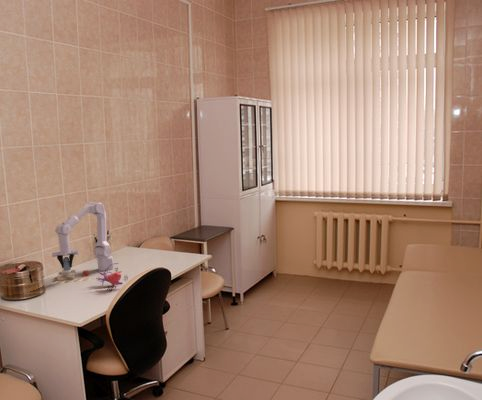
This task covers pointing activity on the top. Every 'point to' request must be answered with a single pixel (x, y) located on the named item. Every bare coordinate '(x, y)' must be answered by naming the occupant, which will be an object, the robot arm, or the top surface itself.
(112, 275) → the heart model
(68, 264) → the pawn
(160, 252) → the top surface
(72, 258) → the robot arm
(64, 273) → the dome
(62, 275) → the beige irregular flat piece
